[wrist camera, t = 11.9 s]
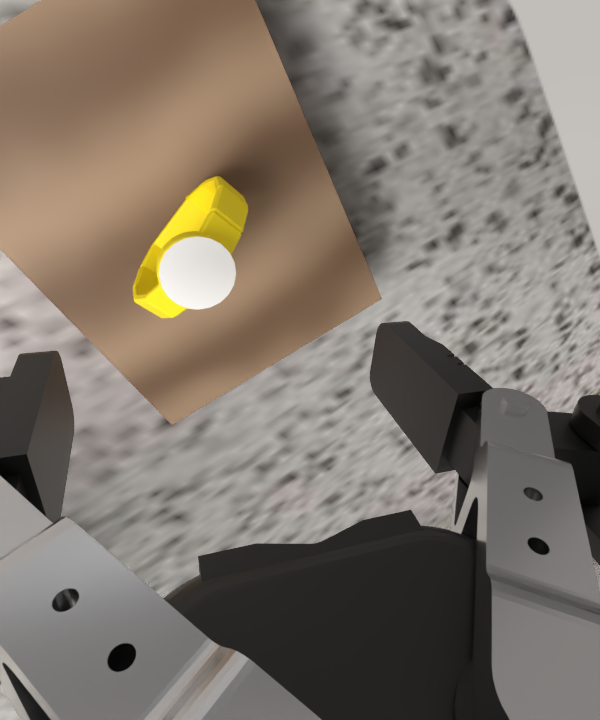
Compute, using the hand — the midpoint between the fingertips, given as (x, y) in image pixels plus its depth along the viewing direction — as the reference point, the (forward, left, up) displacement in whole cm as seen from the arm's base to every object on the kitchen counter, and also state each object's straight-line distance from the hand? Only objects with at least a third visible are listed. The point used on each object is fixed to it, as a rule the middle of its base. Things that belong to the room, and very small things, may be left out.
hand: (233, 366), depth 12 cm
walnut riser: (0, 0, -16) cm, 16 cm away
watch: (0, 0, -12) cm, 12 cm away
